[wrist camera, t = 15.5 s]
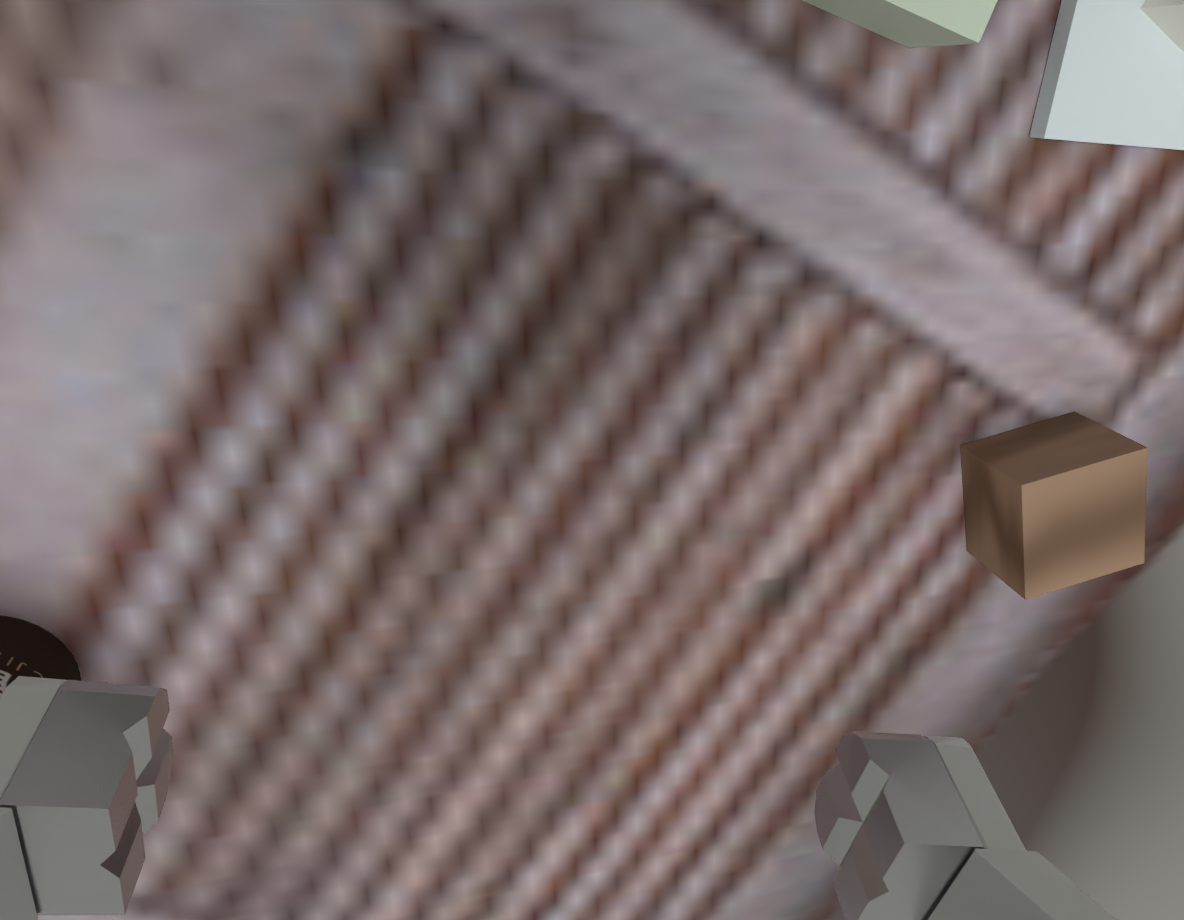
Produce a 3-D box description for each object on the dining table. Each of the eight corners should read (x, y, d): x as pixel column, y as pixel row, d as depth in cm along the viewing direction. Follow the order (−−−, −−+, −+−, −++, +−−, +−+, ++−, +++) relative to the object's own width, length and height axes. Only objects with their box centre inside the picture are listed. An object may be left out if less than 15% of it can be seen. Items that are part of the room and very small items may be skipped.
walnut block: (958, 444, 45) (1021, 485, 40) (1072, 410, 45) (1147, 447, 40) (965, 549, 47) (1025, 599, 42) (1073, 516, 47) (1143, 562, 43)
